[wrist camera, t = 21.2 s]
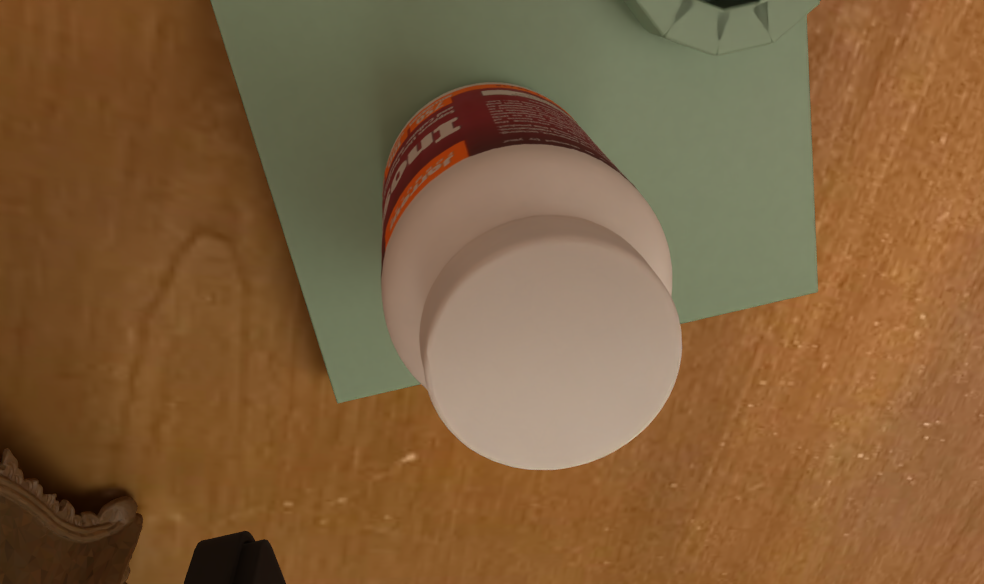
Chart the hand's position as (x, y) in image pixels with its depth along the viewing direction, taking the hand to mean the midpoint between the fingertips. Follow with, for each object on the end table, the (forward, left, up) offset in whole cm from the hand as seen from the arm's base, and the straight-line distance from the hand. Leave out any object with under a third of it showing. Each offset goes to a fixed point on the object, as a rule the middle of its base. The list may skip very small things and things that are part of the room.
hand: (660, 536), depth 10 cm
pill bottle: (0, 0, -16) cm, 16 cm away
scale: (-2, -1, -18) cm, 18 cm away
